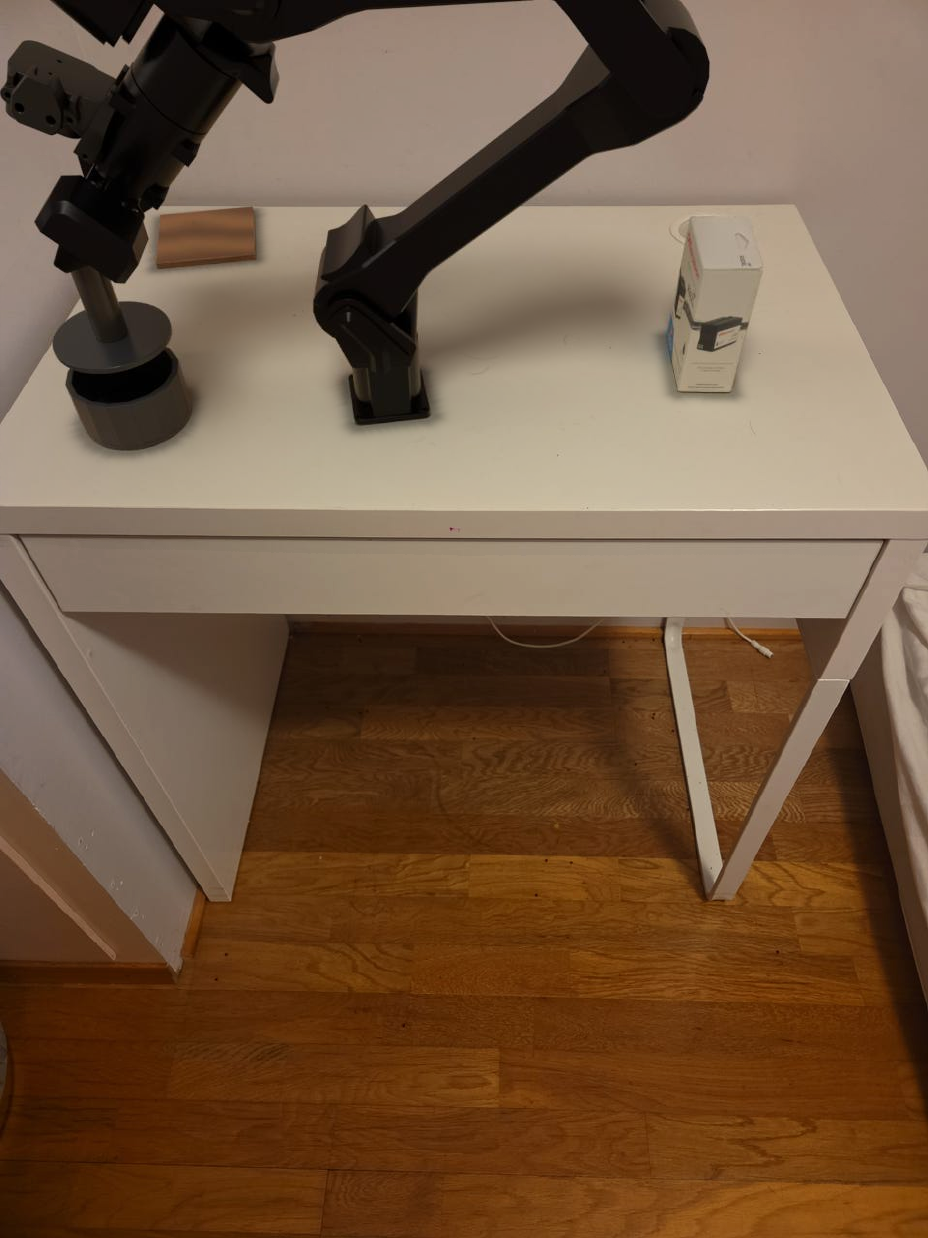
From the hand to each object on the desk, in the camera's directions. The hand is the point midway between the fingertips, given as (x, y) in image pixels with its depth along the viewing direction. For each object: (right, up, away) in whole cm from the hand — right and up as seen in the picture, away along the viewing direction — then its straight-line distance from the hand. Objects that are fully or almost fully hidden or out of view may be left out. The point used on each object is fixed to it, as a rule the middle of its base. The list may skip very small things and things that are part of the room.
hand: (65, 257), depth 67 cm
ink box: (+51, -4, +13) cm, 53 cm away
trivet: (+3, +13, +27) cm, 31 cm away
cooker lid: (+1, -4, +6) cm, 7 cm away
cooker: (+2, -10, +10) cm, 14 cm away
